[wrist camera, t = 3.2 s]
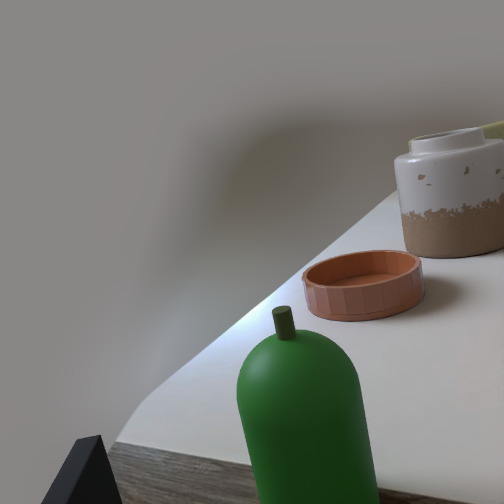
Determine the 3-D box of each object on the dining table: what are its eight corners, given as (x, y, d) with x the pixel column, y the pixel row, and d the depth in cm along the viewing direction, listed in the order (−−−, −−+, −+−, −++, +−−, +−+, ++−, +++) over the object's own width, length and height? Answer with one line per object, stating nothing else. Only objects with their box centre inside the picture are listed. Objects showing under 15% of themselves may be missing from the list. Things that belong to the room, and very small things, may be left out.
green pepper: (257, 566, 24) (203, 344, 22) (274, 476, 31) (233, 295, 28) (387, 566, 23) (346, 328, 20) (377, 472, 29) (345, 279, 26)
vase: (515, 226, 74) (506, 119, 71) (513, 255, 62) (502, 127, 58) (415, 234, 82) (403, 138, 79) (395, 261, 70) (380, 148, 66)
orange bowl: (303, 327, 53) (297, 295, 52) (311, 286, 67) (306, 259, 66) (435, 312, 50) (430, 277, 49) (414, 272, 63) (411, 243, 63)
